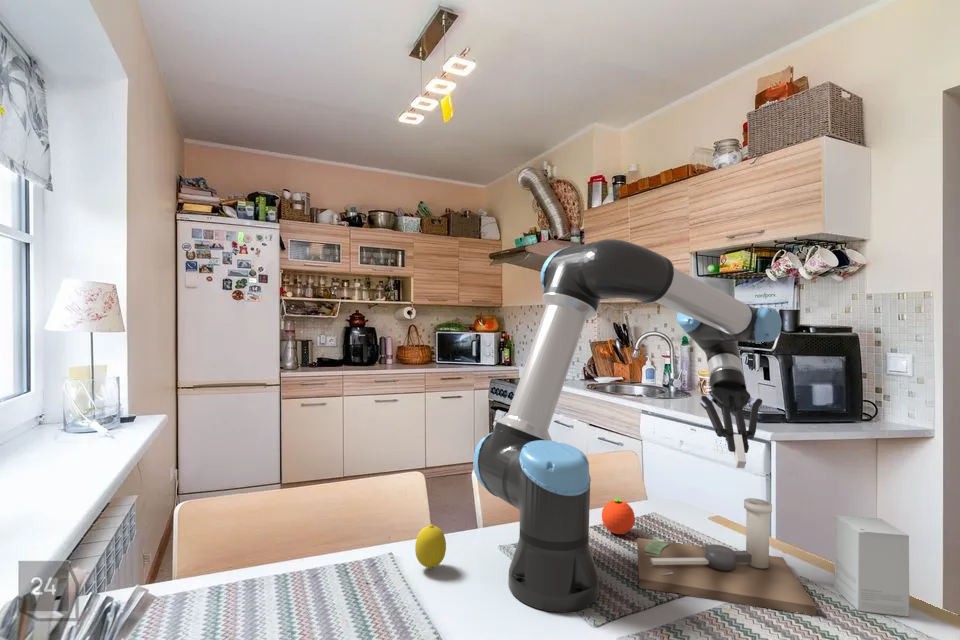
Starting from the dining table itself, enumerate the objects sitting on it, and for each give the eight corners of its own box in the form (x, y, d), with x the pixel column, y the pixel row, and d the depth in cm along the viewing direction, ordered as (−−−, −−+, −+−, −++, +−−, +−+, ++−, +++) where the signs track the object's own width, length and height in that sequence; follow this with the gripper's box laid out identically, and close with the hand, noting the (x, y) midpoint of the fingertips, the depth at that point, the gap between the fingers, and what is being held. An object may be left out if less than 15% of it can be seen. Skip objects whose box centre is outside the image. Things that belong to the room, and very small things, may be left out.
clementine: (598, 523, 110) (598, 492, 110) (630, 525, 109) (630, 493, 109) (603, 539, 102) (604, 504, 102) (638, 541, 101) (638, 506, 101)
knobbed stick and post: (657, 571, 85) (658, 508, 85) (646, 558, 90) (647, 498, 90) (778, 570, 86) (778, 507, 86) (760, 556, 91) (760, 497, 91)
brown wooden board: (639, 587, 83) (639, 577, 83) (637, 545, 99) (637, 536, 99) (816, 616, 75) (816, 605, 75) (782, 565, 92) (782, 556, 92)
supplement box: (911, 618, 75) (911, 535, 75) (856, 611, 77) (857, 531, 77) (882, 592, 83) (882, 517, 83) (832, 587, 84) (833, 513, 84)
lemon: (409, 573, 87) (410, 527, 87) (424, 559, 92) (425, 516, 92) (437, 579, 84) (437, 533, 85) (450, 565, 90) (451, 521, 90)
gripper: (753, 388, 118) (772, 477, 102) (695, 385, 122) (705, 470, 106) (759, 368, 113) (780, 458, 97) (698, 365, 117) (709, 452, 101)
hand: (741, 464), depth 102 cm, fingers closed
